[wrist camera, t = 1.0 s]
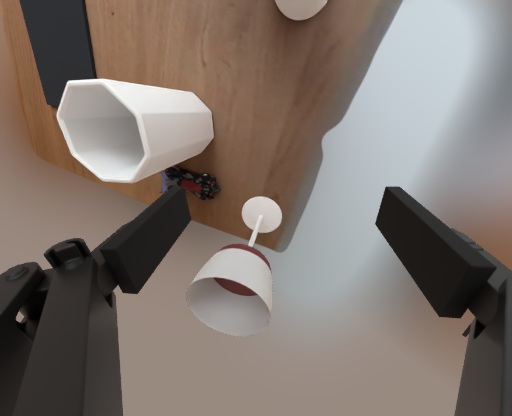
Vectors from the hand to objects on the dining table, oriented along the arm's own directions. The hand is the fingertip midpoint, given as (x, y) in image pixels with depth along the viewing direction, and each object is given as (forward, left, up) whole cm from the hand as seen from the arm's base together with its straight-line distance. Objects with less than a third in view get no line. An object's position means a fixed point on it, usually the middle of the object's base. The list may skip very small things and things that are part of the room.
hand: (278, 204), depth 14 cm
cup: (+1, -20, -26) cm, 32 cm away
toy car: (+12, -18, -26) cm, 33 cm away
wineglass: (+15, -3, -26) cm, 30 cm away
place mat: (-9, -44, -25) cm, 52 cm away
